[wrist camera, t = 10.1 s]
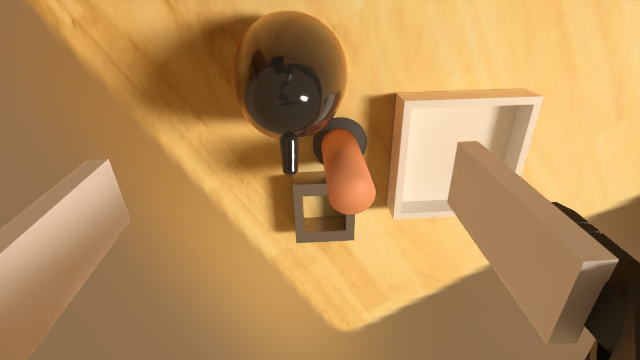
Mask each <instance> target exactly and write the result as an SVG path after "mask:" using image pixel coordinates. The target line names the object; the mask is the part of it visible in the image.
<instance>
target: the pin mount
mask: <svg viewBox="0 0 640 360" xmlns="http://www.w3.org/2000/svg"><path fill="white" fill-rule="evenodd" d="M323 195H328V191H327V184H326V177H325V171H323V172H299V173H296V174H295V175H293V199H294V214H295V230H296V243H307V242H327V241H348V240H354V226H355V214H352V215H348V214H343V216H341V217H320V218H304V211H303V196H323Z"/></svg>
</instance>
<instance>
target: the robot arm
mask: <svg viewBox="0 0 640 360" xmlns="http://www.w3.org/2000/svg"><path fill="white" fill-rule="evenodd" d="M447 203H448V205H449V206H450V208H451V209H452V210H453V212H454V213H455V215H456V216H457V218H458V219H459V220H460V222H461V223H462V225H463V226H464V228H465V229H466V230H467V232H468V233H469V235H470V236H471V238H472V239H473V240H474V242H475V243H476V245H477V246H478V248H479V249H480V250H481V252H482V253H483V255H484V256H485V258H486V259H487V260H488V262H489V263H490V265H491V266H492V268H493V269H494V270H495V272H496V273H497V275H498V276H499V278H500V279H501V280H502V282H503V283H504V285H505V286H506V287H507V289H508V291H509V292H510V293H511V295H512V296H513V298H514V299H515V301H516V302H517V303H518V305H519V306H520V308H521V309H522V310H523V312H524V313H525V315H526V316H527V317H528V319H529V320H530V322H531V323H532V325H533V326H534V328H535V329H536V331H537V332H538V333H539V335H540V336H541V338H542V339H543V341H544V342H545V343H546V345H552V344H567V343H576V342H577V340H578V338H579V336H580V335H581V333H582V331H583V329H584V327H586V328H587V329H588V330H589V331H590V333H591V334H592V335H593V336H594V337H595V339H596V340H595V342H594V344H593V346H592V347H591V349H590V351H589V353H588V355H587V356H586V358H585V360H640V263H639V262H638V261H637V260H635V259H634V258H633V257H631V256H630V255H629V254H628V253H627V252H625V251H624V250H623V249H621V248H620V247H619V246H618V245H617V244H615V243H614V242H613V241H612V240H610V239H609V238H608V237H607V236H605V235H604V234H600V231H599V230H598V229H597V228H595V227H594V226H593V225H591V224H588V221H587V220H585V219H584V218H583V217H581V216H580V215H579V214H578V213H576V212H575V211H574V210H571V209H569V208H567V207H565V206H563V205H561V204H559V203H557V202H550V201H549V200H547V199H546V198H545V197H544V196H543V195H541V194H540V193H539V192H538V191H537V190H536V189H534V188H533V187H532V186H531V185H530V184H528V183H527V182H526V181H525V180H524V179H522V178H521V177H520V176H519V175H518V174H516V173H515V172H514V171H513V170H512V169H510V168H509V167H508V166H507V165H506V164H505V163H503V162H502V161H501V160H500V159H499V158H497V157H496V156H495V155H494V154H493V153H491V152H490V151H489V150H488V149H487V148H485V147H484V146H483V145H482V144H481V143H479V142H478V141H464V142H458V143H457V149H456V155H455V160H454V166H453V172H452V177H451V183H450V189H449V194H448V200H447ZM129 221H130V217H129V214H128V211H127V209H126V206H125V203H124V201H123V198H122V195H121V192H120V189H119V187H118V184H117V181H116V178H115V176H114V173H113V170H112V167H111V165H110V162H109V159H97V160H87V161H85V162H84V163H83V164H82V165H80V166H79V167H78V168H77V169H75V170H74V171H73V172H72V173H70V174H69V175H68V176H66V177H65V178H64V179H63V180H61V181H60V182H59V183H58V184H56V185H55V186H54V187H53V188H52V189H50V190H49V191H48V192H46V193H45V194H44V195H43V196H41V197H40V198H39V199H38V200H36V201H35V202H34V203H33V204H31V205H30V206H29V207H27V208H26V209H25V210H24V211H22V212H21V213H20V214H19V215H17V216H16V217H15V218H14V219H12V220H11V221H10V222H9V223H7V224H6V225H5V226H4V227H2V228H1V229H0V360H27V359H28V358H29V357H30V355H31V354H32V352H33V351H34V350H35V348H36V347H37V346H38V344H39V343H40V342H41V340H42V339H43V338H44V336H45V335H46V334H47V332H48V331H49V330H50V328H51V327H52V325H53V324H54V323H55V321H56V320H57V318H58V317H59V316H60V315H61V313H62V312H63V311H64V309H65V308H66V306H67V305H68V304H69V302H70V301H71V300H72V298H73V297H74V296H75V294H76V293H77V292H78V290H79V289H80V288H81V286H82V285H83V284H84V282H85V281H86V279H87V278H88V277H89V275H90V274H91V273H92V271H93V270H94V269H95V267H96V266H97V265H98V263H99V262H100V260H101V259H102V258H103V256H104V255H105V253H106V252H107V251H108V250H109V248H110V247H111V246H112V244H113V243H114V242H115V240H116V239H117V237H118V236H119V235H120V233H121V232H122V231H123V229H124V228H125V227H126V225H127V224H128V223H129Z"/></svg>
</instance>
